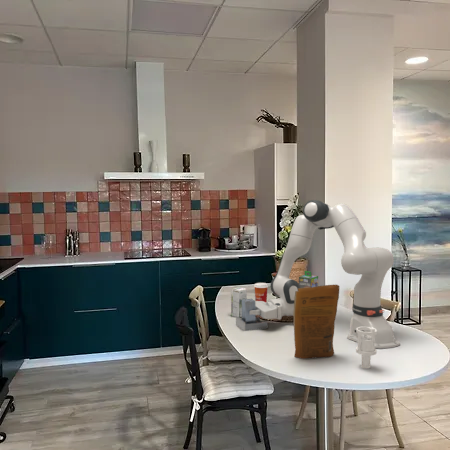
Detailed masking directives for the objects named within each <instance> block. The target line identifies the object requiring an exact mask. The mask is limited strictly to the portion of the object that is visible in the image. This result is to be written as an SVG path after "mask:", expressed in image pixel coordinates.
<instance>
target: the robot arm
mask: <svg viewBox="0 0 450 450" xmlns="http://www.w3.org/2000/svg"><path fill="white" fill-rule="evenodd" d="M333 228H334V229H335V231H336V232H337V233H336V234H338V235H337V236H338V237H339V239H340V240H341V243H342V245H343V255H342V256H341V259H340V260H341V261H340V262H341V264H340V265H341V267H342V269H343V271H344V272H345V273H346V274H350V275H356V276H357V275H358V276H360V278H359V281H358V282H356V284H354V287H353V303H352V313H353V314H352V317H351V318H350V322H349V323H350V324H349V325H350V326H349V334H347V339H348V340H351V341H353V342H356V343H358V333H357V332H356V328H357V327H371V328H375V329H376V330H377V334H376V335H375V349H389V348H395V347H396V348H397V347H398V346H401V342H400V341H399V340H398V339H396V338H395V332H394V329H393V325H391V324H389V322H388V320H387V319H386V318H385V317H384V313H385V309H383V308H382V305H381V296H382V295H381V294H382V293H381V292H382V286H383V283H384V280H385V277H386V275H387V273H388V271H389V270H390V269H391V268H392V267H393V265H394V255H393V253H392V252H391V251H390V250H389V249H387V248H384V247H366V245H365V242H364V241H365V239H366V237H367V231H366V230H365V229H364V227H363V225H362V223H361V221H360V220H359V218H358V216H357V215H356V213H355V212H354V211H353V210H352V209H351V208H350V206H349V205H347V204H345V203H337V204H335V205H334V206H330V205H329V204H328V203H325V202H323V201H321V200H317V199H311V200H308V201H307V202H305V203H304V205H303V208H302V214H300V215H298V216H296V218H295V220H294V222H293V224H292V227H291V230H290V234H289V237H288V241H287V244H286V247H285V249H284V252H283V254H282V257H281V259H280V263H279V265H278V269H277V272H276V274H275V276H274V277H273V278H272V280H271V281H270V290H271V293H272V294H273V295H274V296H276V297H279V298H270V299H268V300H267V302H264V301H255V310H249V314H250V315H252V314H254V315H255V316H259V317H260V318H262V319H266V320H274V319H276V320H282V317H284V316H287V317H292V316H293V311H294V297H295V291H298V288H300V286H299V281H296V280H294V279H291V278H290V276H291V275H290V274H291V271H292V269H293V265H294V263H295V261H297V259H299V258H300V257H302V256H304V255H306V254H308V252H309V250H310V248H311V247H312V243H313V238H314V234H315V232H316V230H317V229H318V230H325V229H326V230H327V229H333ZM359 331H363V332H370V330H359ZM364 337H365V336H364Z"/></svg>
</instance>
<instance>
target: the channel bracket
mask: <svg viewBox="0 0 450 450" xmlns="http://www.w3.org/2000/svg"><path fill="white" fill-rule="evenodd" d="M255 318H256V323H248V324H245V322H244V321H243V320H242V317H241V318H239V317H235V325H236V326H237V327H238V328H239V329H240V330H241V331H242V332H245V331H256V330H264V329H265V330H266V329H268V321H261V316H255Z"/></svg>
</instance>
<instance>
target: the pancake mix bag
mask: <svg viewBox="0 0 450 450" xmlns="http://www.w3.org/2000/svg"><path fill="white" fill-rule="evenodd" d="M339 298H340V285H338V284H328V285H327V284H326V285H318V286H316V287H307V288H298V291H295V297H294V311H293V331H294V332H293V333H294V334H293V335H294V337H293V340H294V348H295V350H294V357H295V358H297V359H302V360H307V359H318V358H319V359H320V358H331V357H333V356H334V354H335V350H334V336H335V324H336V323H335V322H336V317H337V312H338V304H339V303H338V302H339Z"/></svg>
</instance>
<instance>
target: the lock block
mask: <svg viewBox="0 0 450 450" xmlns="http://www.w3.org/2000/svg"><path fill="white" fill-rule="evenodd" d="M249 310H255V299H253V298H247V299H242V317H241V318H242V320H243V321H244V322H245V324H248V323H256V318H255V317H256V315H254V314H252V315H250V314H249Z"/></svg>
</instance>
